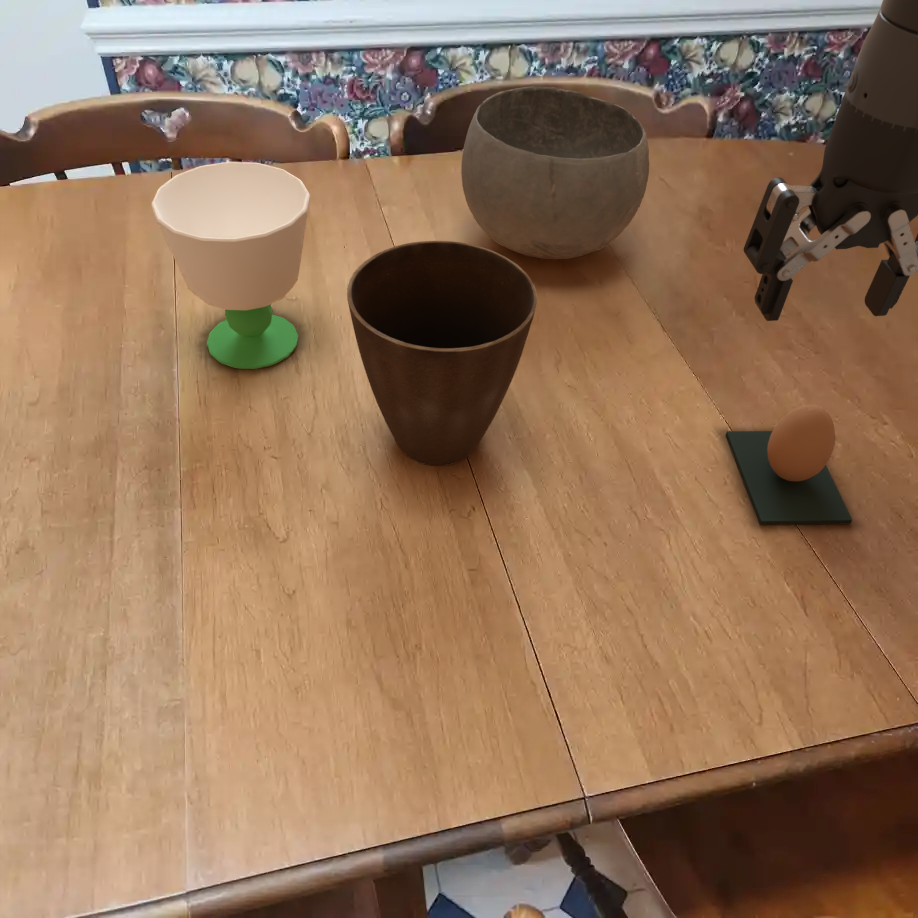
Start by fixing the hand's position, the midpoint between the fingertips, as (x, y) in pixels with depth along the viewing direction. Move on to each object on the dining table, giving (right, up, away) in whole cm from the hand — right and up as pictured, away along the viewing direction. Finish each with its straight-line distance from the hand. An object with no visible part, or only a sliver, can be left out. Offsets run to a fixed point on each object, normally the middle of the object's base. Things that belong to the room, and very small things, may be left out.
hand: (821, 312), depth 66 cm
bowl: (-17, +15, +39) cm, 45 cm away
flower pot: (-29, -9, +15) cm, 34 cm away
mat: (+2, -13, +13) cm, 18 cm away
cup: (-48, +1, +23) cm, 53 cm away
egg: (+2, -12, +13) cm, 18 cm away
